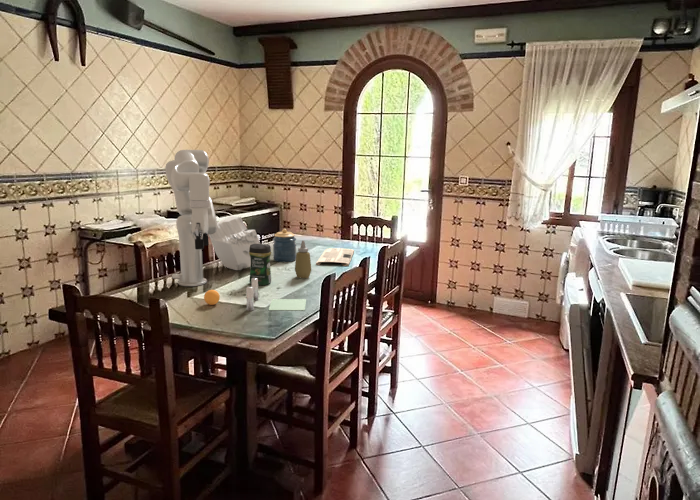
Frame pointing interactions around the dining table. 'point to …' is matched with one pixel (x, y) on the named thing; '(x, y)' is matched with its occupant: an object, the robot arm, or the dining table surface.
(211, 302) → the ball
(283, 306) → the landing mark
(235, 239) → the white lumpy block
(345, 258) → the newspaper
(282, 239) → the canister
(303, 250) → the squeeze bottle
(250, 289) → the post
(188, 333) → the dining table surface
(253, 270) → the coffee jar
